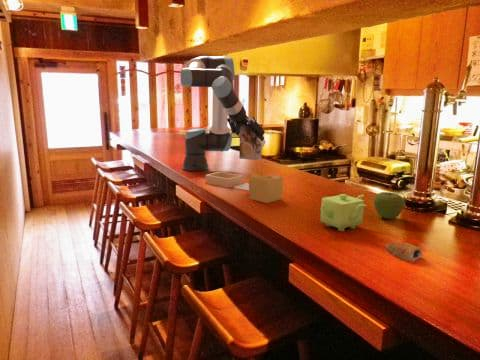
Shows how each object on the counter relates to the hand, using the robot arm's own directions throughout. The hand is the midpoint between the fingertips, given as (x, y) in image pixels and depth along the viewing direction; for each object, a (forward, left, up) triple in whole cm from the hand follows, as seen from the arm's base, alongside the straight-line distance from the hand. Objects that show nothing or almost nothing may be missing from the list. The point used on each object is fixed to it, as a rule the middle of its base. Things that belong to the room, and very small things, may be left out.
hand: (254, 143), depth 179 cm
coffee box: (+3, 0, -7) cm, 8 cm away
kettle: (+27, +56, -21) cm, 66 cm away
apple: (+7, +65, -21) cm, 69 cm away
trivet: (+3, 0, -21) cm, 21 cm away
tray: (+3, -15, -21) cm, 26 cm away
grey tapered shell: (+39, +79, -21) cm, 90 cm away
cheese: (+15, +17, -21) cm, 31 cm away
